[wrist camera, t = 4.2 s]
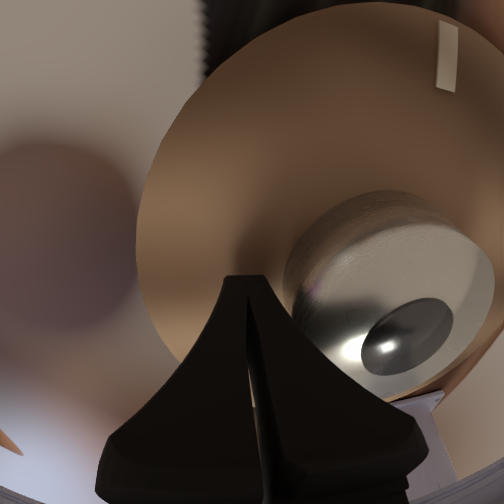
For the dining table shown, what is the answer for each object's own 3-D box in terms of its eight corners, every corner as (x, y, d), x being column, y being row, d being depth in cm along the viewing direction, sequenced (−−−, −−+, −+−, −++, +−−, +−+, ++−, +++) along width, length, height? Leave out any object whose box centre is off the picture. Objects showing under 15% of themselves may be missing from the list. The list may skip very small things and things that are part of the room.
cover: (419, 332, 13) (449, 386, 10) (277, 349, 13) (288, 418, 10) (466, 194, 10) (525, 239, 7) (287, 188, 9) (315, 245, 6)
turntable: (463, 371, 18) (470, 383, 17) (179, 406, 17) (178, 423, 16) (563, 92, 8) (580, 97, 7) (127, -7, 7) (114, -16, 6)
